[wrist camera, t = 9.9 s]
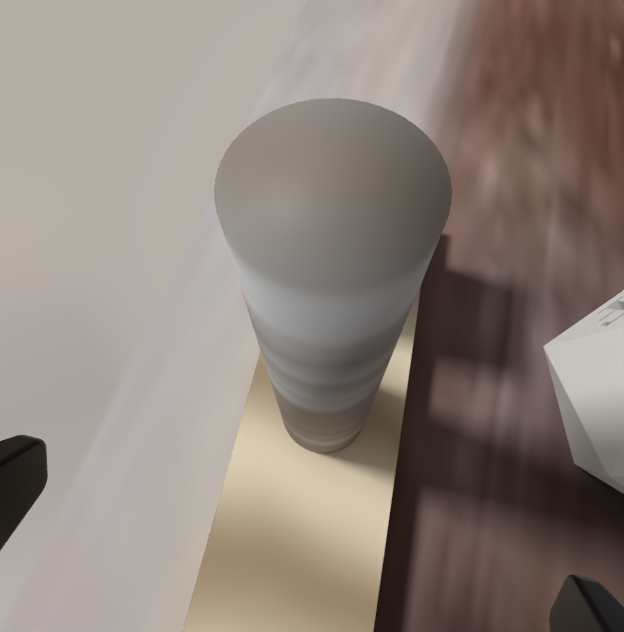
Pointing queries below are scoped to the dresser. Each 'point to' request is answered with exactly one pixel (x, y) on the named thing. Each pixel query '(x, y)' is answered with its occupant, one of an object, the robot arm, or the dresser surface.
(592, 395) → the die
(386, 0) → the dresser surface
